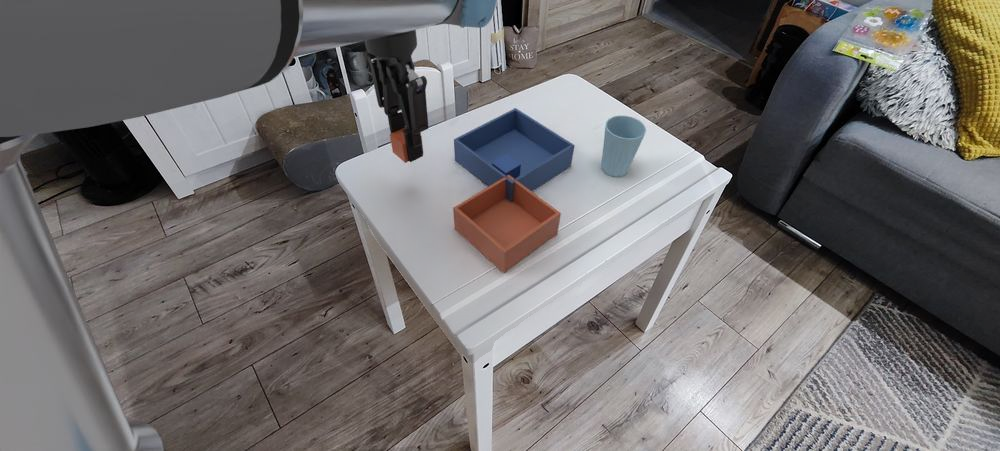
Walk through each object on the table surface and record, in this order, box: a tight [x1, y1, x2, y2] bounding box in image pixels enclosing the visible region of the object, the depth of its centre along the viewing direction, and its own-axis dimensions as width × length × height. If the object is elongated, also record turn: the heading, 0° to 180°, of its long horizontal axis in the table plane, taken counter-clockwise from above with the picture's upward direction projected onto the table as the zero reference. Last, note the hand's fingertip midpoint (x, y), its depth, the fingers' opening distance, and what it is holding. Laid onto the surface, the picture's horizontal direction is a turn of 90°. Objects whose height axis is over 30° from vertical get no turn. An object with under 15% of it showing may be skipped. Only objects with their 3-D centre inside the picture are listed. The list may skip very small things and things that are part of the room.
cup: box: [600, 115, 647, 178], centre depth 91 cm, size 8×8×10 cm
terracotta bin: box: [452, 175, 562, 274], centre depth 80 cm, size 13×13×6 cm
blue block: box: [492, 155, 521, 179], centre depth 90 cm, size 4×4×4 cm
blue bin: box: [453, 107, 575, 202], centre depth 93 cm, size 17×17×6 cm
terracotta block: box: [389, 126, 425, 164], centre depth 81 cm, size 4×4×4 cm
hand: (408, 151), depth 82 cm, fingers closed on terracotta block, 4 cm apart
